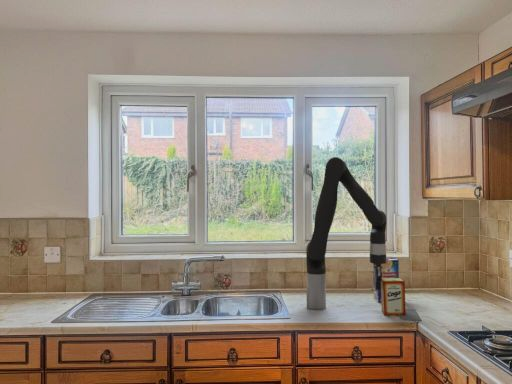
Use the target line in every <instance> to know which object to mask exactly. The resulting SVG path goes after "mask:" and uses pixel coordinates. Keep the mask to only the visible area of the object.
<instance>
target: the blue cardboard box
mask: <svg viewBox="0 0 512 384" xmlns="http://www.w3.org/2000/svg"><path fill="white" fill-rule="evenodd" d="M372 264H373V263H372ZM399 264H400V262H399V259H397V258H395V257H386V263H385V264H381V267H382V268H383V271H382V278H399V276H400V275H399ZM374 266H375V264H373V267H374ZM373 267H372V268H373ZM373 274H374V268H373ZM373 300H374V301H375V302H377V303H378V304H381V290H376V281H375V276H374V275H373Z"/></svg>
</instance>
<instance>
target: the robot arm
mask: <svg viewBox="0 0 512 384" xmlns="http://www.w3.org/2000/svg"><path fill="white" fill-rule="evenodd" d="M339 183H341V185H342V186H343V187H344V188H345V189H346V191H347V193H348V194H349V196H350V197H351V199H352V200H353V201H354V202H355V204H356V205H357V206H358V207H359V209H360V210H361V211H362V213H363V214H364V216H365V218H366V219H367V221H368V222H369V224H371V231H370V234H369V263H371V264H375V266H374V267H372V268H374V273H373V277H374V276H375V281H376V290H381V281H382V271H383V268H382V267H381V264H385V263H386V258H387V246H386V245H387V244H386V242H387V241H386V231H387V229H386V228H387V215H386V213H385V212H384V211H383V210H380V209H378V208H377V206H376V204H375V202H374V200H373V199H372V197H370V195H369V194H368V193H367V192H366V190H365V188H363V187H362V186H361V185H360V183H359V182H358V181H357V180H356V179H355V177H354V175H353V174H352V173H351V171H350V170H349V167H348V166H347V164H346V162H345V161H344V160H343V159H342V158H340V157H339V156H333V157H330V158H329V159H328V160H327V161H326V164H325V171H324V179H323V183H322V187H321V189H320V194H319V198H318V201H317V206H316V209H315V214H314V225H313V232H312V236H311V239H310V241H309V243H307V246H306V253H305V254H306V256H305V257H306V309H309V310H312V311H313V310H314V311H316V310H317V311H319V310H320V311H322V310H325V309H326V308H327V301H326V299H327V294H326V293H327V291H326V287H327V283H326V282H327V280H326V279H327V278H326V275H327V273H326V272H327V271H326V270H327V269H326V254H327V247H328V246H327V245H328V239H329V233H330V231H331V227H332V225H333V222H334V218H335V215H336V210H337V206H338V190H339V189H338V188H339Z"/></svg>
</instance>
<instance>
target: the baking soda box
mask: <svg viewBox="0 0 512 384" xmlns="http://www.w3.org/2000/svg"><path fill="white" fill-rule="evenodd" d="M405 286H406V285H405V280H404V279H403V278H402V277H400V278H382V281H381V303H380V305H381V312H382V314H383V315H384V316H400V315H406V311H405V308H406V288H405Z"/></svg>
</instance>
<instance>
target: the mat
mask: <svg viewBox="0 0 512 384" xmlns="http://www.w3.org/2000/svg"><path fill="white" fill-rule="evenodd" d="M405 311H406V315H399V317H400V319H401V321H410V322H412V321H414V322H422V321H423V320H422V318H421V316H420V314H419V312H418V311H417V310H416V308H406V307H405Z"/></svg>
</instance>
